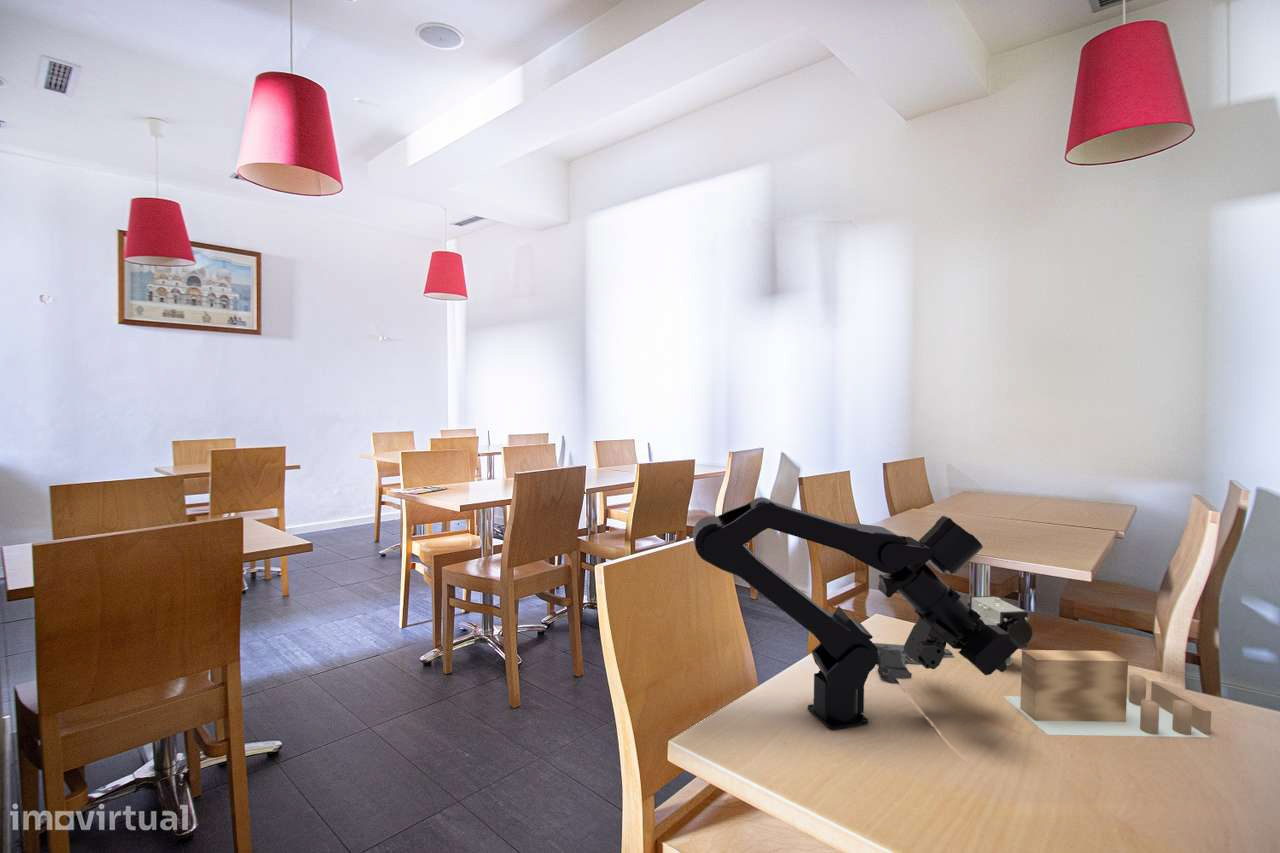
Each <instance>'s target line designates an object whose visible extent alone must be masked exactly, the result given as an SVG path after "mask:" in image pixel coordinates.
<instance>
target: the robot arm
mask: <svg viewBox="0 0 1280 853" xmlns="http://www.w3.org/2000/svg"><path fill="white" fill-rule="evenodd" d="M692 529H693V530H692V538H693V539H692V540H693V543H694V548H695V551H696V553H697V555H698V556H699V558H701V560H703V561H705V562H706V563H708V564H711V565H712V566H714V567H716V568H717V569H720V570H721V571H723V572H726V573H729V574H730V575H734V576H737V577H738V578H741V579H742V580H743V581H745V583H747V584H748V585H749V586H751V587H752V588H754V589H755V590H756V591H757V592H759V593H760V594H761V595H763V597H765V598H766V599H768V600H769V601H770V602H771V603H772V604H774V606H776V607H778V608H779V609H780V610H782V612H784V613H786V614H787V615H788V616H789V617H790V618H792V619H793V620H794V621H795V622H797V623H798V624H799V625H800V626H802V627H803V628H804V629H806V630H807V631H809V632H810V633H811V634H812V635H813V636H814V637H815V638H816V640H818V641H819V644H818V645H817V646H816V647H815V648H813V649H812V650H811V655H812V659H813V661H814V664H815V665H816V666H817V667H818V669H819V671H818V672H815V673H814V674H813V703H812V704H808V705H807V710H808V711H809V712H811V714H813V715H814V716H815V717H816V718H817V720H820V721H821V723H823V725H825V726H826V727H827V728H829V730H839V729H843V728H849V727H855V726H861V725H862V726H863V725H866V724H869V719H868V718H867V717H866V716H865V715H863V713H864V711H865V710H864V709H865V708H864V707H865V684H866V681H867V679H868V677H869V674H870V672H872V670H873V669H874V668H875V667H876V666H877V663H878V662H877V661H878V649H877V647H876V646H875V645H874V644H873V643H874V642H873V641H872V639H873V638H874V637H873V635H872V634H871V633H870V632H869V631H868V630H867V629H866V627H864V625H863V624H862V623H861V622H860V621H859V620H858V619H856V618H853V617H851V616H849V615H848V614H847V613H846V612H845V610H843V609H842V607H841V606H837V607H836V609H835V611H834V612H832V611H829V610H827V609H825V608H823V607H822V606H820V605H819V604H817V602H815V601H814V600H812V599H811V597H809V596H808V595H806V594H805V593H804V592H803V591H801V590H800V589H798V588H797V587H796V586H795V585H794V584H792V583H791V582H789V581H788V580H787V579H786V578H785V577H783V576H782V575H781V574H780V573H778V572H777V571H776V570H775V569H773V568H772V567H770V566H769V565H768V564H767V563H766V562H764V561H763V560H762V559H760V558H759V557H758V556H756V555H755V554H754V553H753V552H752V551H751V550H750V548H749V547H748V546H747V545H746V544H747V543H748V542H749V541H751V540H752V539H755V537H756V536H758V535H759V534H760V533H762V532H764V531H766V530H767V529H771V530H774V531H778V532H780V533H783V534H787V535H789V536H790V535H791V536H793V537H796V538H800V539H803V540H807V541H809V542H813V543H816V544H819V545H821V546H822V545H823V546H826V547H829V548H833V549H835V550H839V551H842V552H843V553H845V554H847V555H849V556H851V557H853V558H855V559H857V561H860V562H862V563H863V564H865V565H868V566H869V567H871V568H873V569H875V570H877V571H879V572H881V573H884V574H878V579H879V580H878V587H877V589H878V591H879V592H881V593H882V594H883V595H884V596H885V597H886V598H891V597H893V596H894V594H896V593H897V592H898V593H899V594H900V595H901V596H902V597H904V599H905V600H906V601H907V602H908V603H909V604H910V605H911V606H912V607H913V609H914V611H913V612H914V613H915V614H916V616H918V618H919V619H918V620H917V622H916V623H915V624H914V625H913V626H912V629H911V630H910V633H909V634H908V637H907V638H906V641H905V643H904V644H903V645H904V652H905V653H906V654H907V655H908V656H909V657H910V658H911V659H912V660H913V661H916V662H918V663H920V664H922V665H921V666H923V667H924V669H931V670H936V669H937V667H939V666H940V665H941V662H942V661H943V659H944V658H943V657H944V655H945V651H944V649H946V647H947V644H948V645H949V646H950V647H951V648H952V649H955V650H959V651H958V654H960V656H962V657H963V658H965V660H967V661H968V662H969V663H970V664H971V665H973V666H974V668H976V669H977V670H978V671H979V672H980V673H982V674H983V675H984V676H990V675H992V674H993V673H994V672H995V671H996V670H997V671H999V672H1000V673H1003V672H1005V671H1006V670H1007V668H1008V666H1006V662H1005V661H1006V660H1007V659H1008V658H1009V657H1010V656H1011V657H1012V655H1013V654H1014V653H1016V651H1017V650H1018V649H1019V643H1018V642H1017V641H1016V640H1015V639H1014V638H1013V637H1012V636H1011V635H1010V634H1008V633H1007V632H1005V631H1004V630H1002V629H1001V628H999V627H998V626H996V625H986V624H984V622H983V621H982V620H981V619H980V617H981V616H980V615H979V614H978V613H977V612H976V611H974V610H973V609H971V608H970V607H968V606H967V603H965V601H963V600H962V599H961V597H962V596H961V595H960V594H959V593H958V592H957V591H955V590H954V589H953V588H951V587H950V586H948V584H946V583H945V582H944V581H943V580H942V579H941V578H940V577H939V576H938V575H937V574H936V573H935V571H933V570H932V569H931V567H933V568H934V569H935V570H937V572H939V573H940V574H942V575H945V574H946V573H947V572H948V574H950V575H956V574H957V573H958V572H959V571H960V570H961V569H962V568H963V567H964V566H965V565H966V564H967V563H968V562H970V561H971V560H972V559H973V558H974V557H975V556H976V555H977V554H978V553H979V552H980V551H981V550H982V549H983V548H984V547H983V545H982V543H981V541H979V540H978V538H976V537H975V536H974V535H973V534H972V533H969V532H968V531H967V530H965V529H964V528H963V527H962V526H960V525H959V524H957V523H956V522H954V520H952V518H951V517H948V516H946V515H942V516H941V517H940V518H939V519H937V521H936V522H935V524H934V525H933V526H932V527H930V529H929V530H928V531H927V532H926V533H925V534H924V535H923V536H922V537H921V538H920V539H919V540H917V539H915V538H914V537H911V536H905V535H898V534H897V533H894V532H892V531H891V530H889V529H887V528H886V527H883V526H880V525H872V524H871V525H869V524H865V523H864V524H862V523H848V522H847V523H845V522H841V521H837V520H833V519H830V518H827V517H824V516H821V515H817V514H814V513H811V512H808V511H805V510H801V509H798V508H795V507H792V506H788V505H785V504H781V503H778V502H775V501H773V500H771V499H769V498H768V497H762V496H760V497H756V498H755V499H753V500H752V501H750V502H748V503H745V504H743V505H741V506H738V507H736V508H733V509H731V510H730V509H729V510H727V511H726V512H723V513H721V514H720V515H718V516H716V515H708V516H705V517H702V518H700V519H699V520H698V521H697V522H696V523H695V525H694V527H693V528H692ZM927 563H928V564H929V565H931V567H929V566H928V565H927Z"/></svg>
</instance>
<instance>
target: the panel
mask: <svg viewBox="0 0 1280 853" xmlns="http://www.w3.org/2000/svg"><path fill="white" fill-rule="evenodd" d="M1128 677H1129V678H1128V679H1129V681H1128V682H1129V684H1128V697H1127V704H1126V722H1100V721H1035V720H1034V719H1032V718H1031V717H1030V716H1029V715H1028V714H1026V713H1025V712H1024V711H1023V710H1022V709H1021V708H1020V703H1021V695H1020V696H1017V695H1016V696H1014V695H1013V696H1012V695H1009V696H1008V695H1007V696H1006V695H1003V696H1002V697H1003V698H1004V699H1006V701H1008V703H1010V704H1011V705H1013V706H1014V707H1015V708H1016V709H1017V710H1018V711H1019V712H1020V713H1021V714H1022V715H1024V716H1025V717H1026V718H1027V719H1028V720H1029V721H1031V722H1032V723H1033V724H1034V725H1036V726H1037V727H1038V728H1039V729H1040V730H1041V731H1042V732H1044V733H1045V734H1046V735H1047V736H1085V737H1086V736H1087V737H1088V736H1091V737H1093V736H1094V737H1144V738H1145V737H1146V738H1149V737H1154V738H1156V737H1157V738H1159V737H1161V738H1203V739H1204V738H1209V739H1210V736H1208V735H1209V734H1211V729H1212V728H1211V727H1212V726H1211V725H1212V710H1211V709H1208V708H1207V707H1205V706H1203V705H1201V704H1200V703H1198V702H1196V701H1194V700H1193V699H1190V698H1189V697H1187V696H1186V695H1183V694H1182V693H1180V692H1179V691H1177V690H1175V689H1173V688H1171V687H1169V686H1167V685H1166V684H1164V683H1162V682H1160V681H1158V680H1152V681H1151V687H1150V688H1151V690H1150V693H1151V694H1150V699H1148V698H1146V697H1147V678H1146V677H1144V676H1142V675H1139V674H1132V673H1131V674H1129V676H1128ZM1207 734H1208V735H1207Z"/></svg>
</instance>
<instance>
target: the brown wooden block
mask: <svg viewBox="0 0 1280 853" xmlns="http://www.w3.org/2000/svg"><path fill="white" fill-rule="evenodd" d="M1128 666H1129V661H1128V660H1127V659H1125V658H1123V657H1121V656H1120V655H1118V654H1116V653H1114V652H1113V651H1110V650H1063V649H1061V650H1058V649H1057V650H1055V649H1054V650H1051V649H1050V650H1049V649H1048V650H1047V649H1022V650H1021V668H1020V669H1021V670H1020V672H1021V673H1020V674H1021V675H1020V696H1021V703H1020V708H1021V709H1022V710H1023V711H1024V712H1025V713H1026V714H1028V715H1029V716H1030V717H1031V718H1032V719H1034V720H1035V721H1100V722H1126V704H1127V698H1128V677H1129V675H1128V670H1129V667H1128Z"/></svg>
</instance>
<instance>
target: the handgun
mask: <svg viewBox="0 0 1280 853" xmlns="http://www.w3.org/2000/svg"><path fill="white" fill-rule="evenodd" d="M873 644H874V645H875V646H876V647H877V649H878V661H877V663H878V674H879V676H880V678H881V679H882V680H884V681H886V680H887V682H888V681H889V682H888V683H900V681H898V679H912V674H913V673H912V672H910V671H909V670H908V668H907V666H906V665H916V666H917V665H918V666H923V665H922V664H920V663H918V662H916V661H913V660H912V659H911V658H910V657H909V656H908V655H907V654H906V653H905V652H904V645H905V644H895V643H894V644H893V643H883V642H882V643H879V642H873ZM944 651H945V655H944V657H943V659H947V658H948V659H954V658H955V655H953V654H954V653H953V652H952V651H951V650H950V649H949V648H945V649H944Z"/></svg>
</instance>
